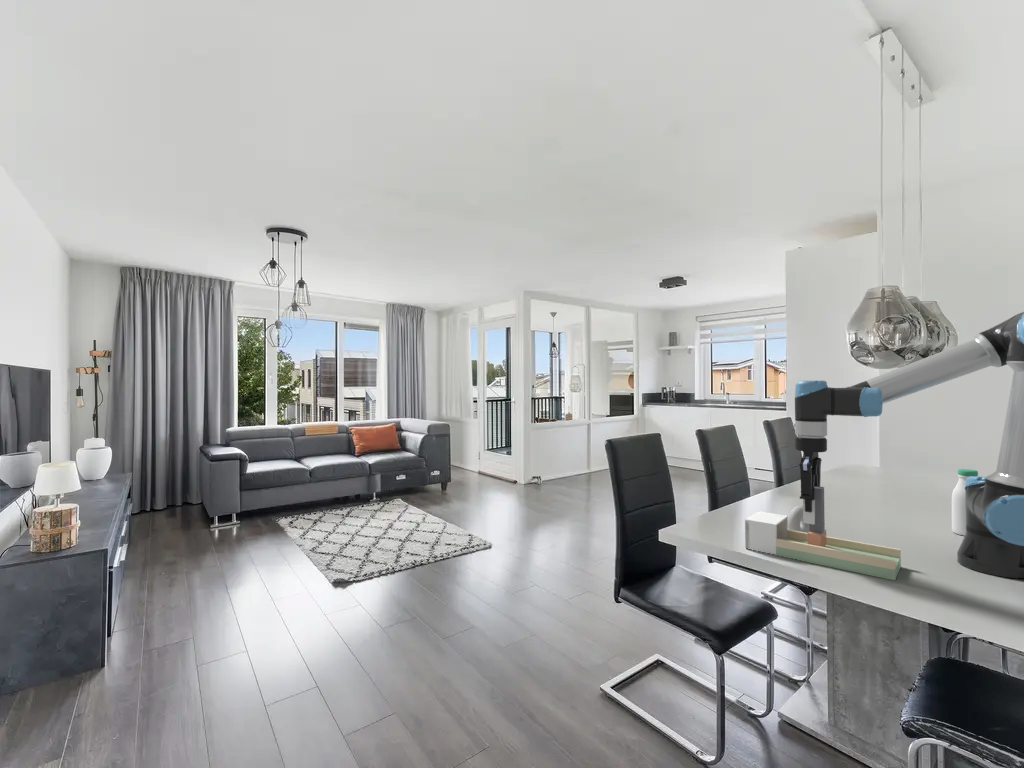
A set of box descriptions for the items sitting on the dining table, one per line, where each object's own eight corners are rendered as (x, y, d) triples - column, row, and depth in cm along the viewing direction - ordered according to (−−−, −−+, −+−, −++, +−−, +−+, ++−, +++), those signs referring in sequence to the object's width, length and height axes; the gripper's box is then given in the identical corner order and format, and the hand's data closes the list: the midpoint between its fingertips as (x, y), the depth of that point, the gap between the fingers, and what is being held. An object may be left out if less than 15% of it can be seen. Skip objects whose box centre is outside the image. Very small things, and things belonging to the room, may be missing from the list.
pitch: (900, 566, 126) (900, 533, 126) (895, 580, 117) (894, 544, 117) (758, 539, 149) (758, 511, 149) (745, 548, 141) (745, 519, 141)
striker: (826, 544, 135) (825, 486, 135) (820, 550, 130) (819, 490, 130) (813, 541, 137) (813, 484, 137) (807, 547, 132) (806, 488, 132)
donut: (796, 542, 146) (796, 509, 146) (785, 539, 149) (784, 506, 149) (814, 537, 151) (814, 504, 151) (802, 534, 154) (802, 502, 154)
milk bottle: (956, 536, 151) (955, 471, 151) (948, 529, 157) (947, 467, 157) (990, 539, 147) (989, 472, 147) (980, 532, 154) (979, 468, 154)
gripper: (802, 433, 143) (802, 513, 143) (787, 437, 131) (787, 525, 131) (833, 435, 138) (833, 518, 138) (819, 440, 126) (819, 531, 126)
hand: (810, 521), depth 135 cm, fingers closed on striker, 3 cm apart
